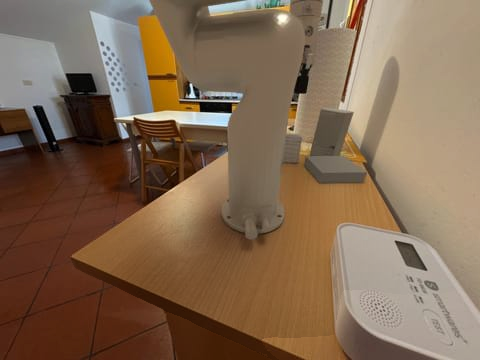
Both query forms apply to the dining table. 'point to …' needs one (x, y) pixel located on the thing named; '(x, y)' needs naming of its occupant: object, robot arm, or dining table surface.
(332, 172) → the grey base
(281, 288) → the dining table surface
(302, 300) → the dining table surface
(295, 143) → the medicine box
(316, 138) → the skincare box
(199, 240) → the dining table surface
